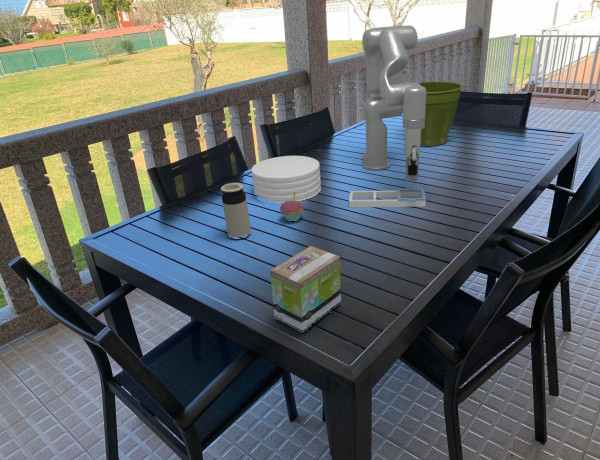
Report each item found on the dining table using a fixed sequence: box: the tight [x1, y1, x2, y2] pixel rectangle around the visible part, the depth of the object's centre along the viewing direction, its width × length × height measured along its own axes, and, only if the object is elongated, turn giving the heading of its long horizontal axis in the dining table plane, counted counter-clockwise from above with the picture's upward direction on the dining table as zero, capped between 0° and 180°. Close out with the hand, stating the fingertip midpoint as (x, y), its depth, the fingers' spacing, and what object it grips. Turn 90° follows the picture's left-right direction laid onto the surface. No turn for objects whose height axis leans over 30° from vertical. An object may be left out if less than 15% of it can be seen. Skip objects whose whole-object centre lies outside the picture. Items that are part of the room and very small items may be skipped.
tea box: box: [269, 245, 342, 330], centre depth 108 cm, size 15×10×15 cm, turn 138°
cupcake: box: [279, 189, 305, 222], centre depth 159 cm, size 9×8×12 cm
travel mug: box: [220, 182, 252, 237], centre depth 150 cm, size 8×8×18 cm
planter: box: [404, 155, 420, 182], centre depth 162 cm, size 4×4×10 cm
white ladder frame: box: [348, 186, 427, 208], centre depth 169 cm, size 13×28×3 cm, turn 81°
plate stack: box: [251, 155, 322, 203], centre depth 185 cm, size 28×28×12 cm
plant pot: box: [418, 81, 463, 147], centre depth 229 cm, size 30×30×29 cm
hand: (411, 172), depth 163 cm, fingers closed on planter, 4 cm apart
